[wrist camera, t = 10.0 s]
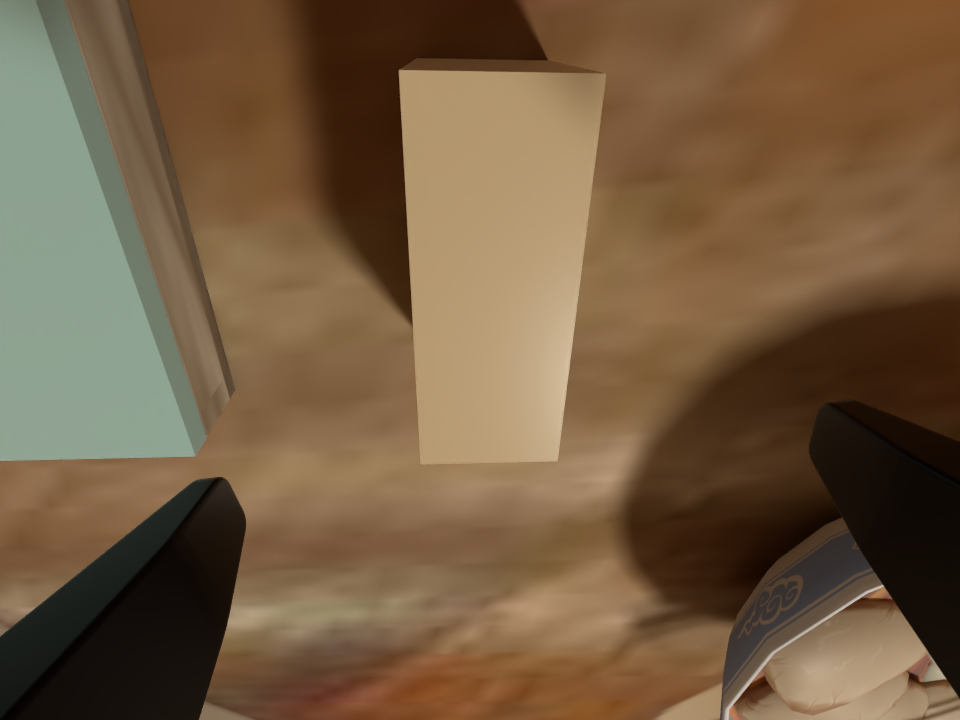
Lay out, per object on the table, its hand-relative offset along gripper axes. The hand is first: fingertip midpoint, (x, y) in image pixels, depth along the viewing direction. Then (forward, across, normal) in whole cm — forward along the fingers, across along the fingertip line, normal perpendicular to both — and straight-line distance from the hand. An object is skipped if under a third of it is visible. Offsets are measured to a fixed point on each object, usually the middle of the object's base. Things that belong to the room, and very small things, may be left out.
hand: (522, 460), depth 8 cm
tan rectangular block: (+12, 0, 0) cm, 13 cm away
